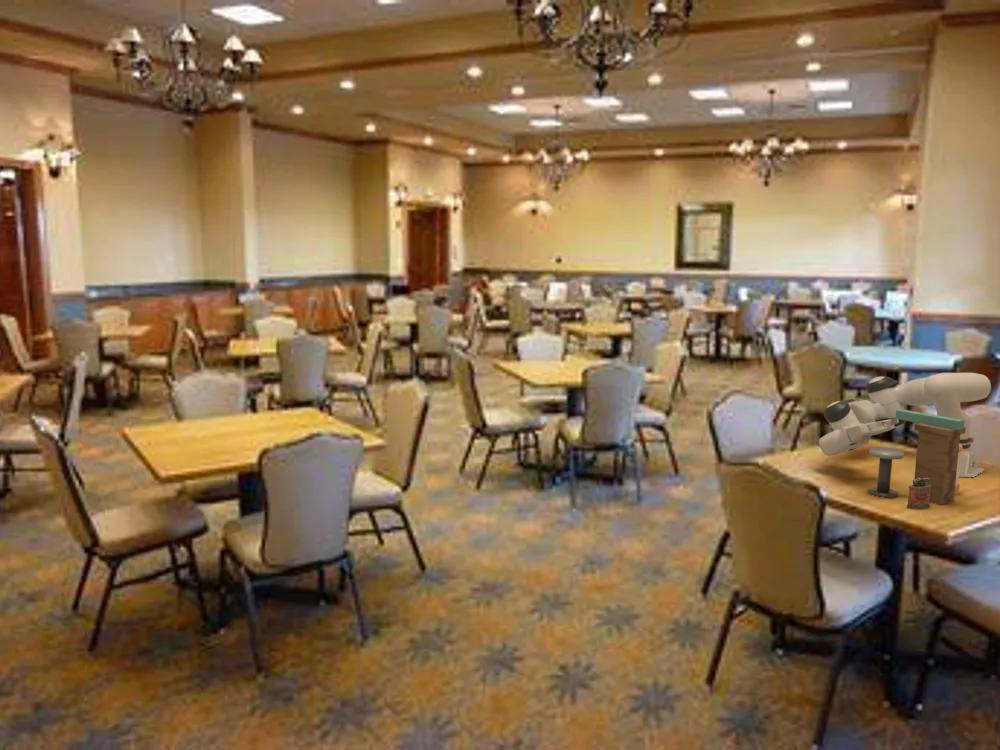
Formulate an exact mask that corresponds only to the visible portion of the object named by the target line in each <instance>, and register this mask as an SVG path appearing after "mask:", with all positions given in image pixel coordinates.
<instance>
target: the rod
mask: <svg viewBox="0 0 1000 750" xmlns="http://www.w3.org/2000/svg"><path fill="white" fill-rule="evenodd" d="M895 419H900V420H906V422H907V421H908V422H912V423H916V424H919V423H922V424H927V425H933V426H938V427H944V428H949V429H954V430H962V429H964V420H960V419H954V418H949V417H943V416H937V415H935V414H929V413H925V412H919V411H914V410H913V411H912V410H908V409H905V410H903V409H900V410H896V418H895Z"/></svg>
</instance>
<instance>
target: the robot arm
mask: <svg viewBox="0 0 1000 750" xmlns="http://www.w3.org/2000/svg"><path fill="white" fill-rule="evenodd" d="M898 383H899V381H898V380H897V379H894V378H891V377H889V376H876V377H874V378H872V379H871V380H869V381H868V382H867V384H866V386H865V387H866V388H865V389H866V393H867V394H868V397H869V399H870V400H866V399H863V400H858V401H857V400H856V399H854V398H850V399H845V400H839V401H838V400H837V401H833V402H832V403H830V404H829V405H827V406H826V407H825V408H824V412H823V417H824V418H825V420H826V422H828V423H829V426H830V427H831V428H832V430H833V431H831V432H829V433H826V434H825V435H823V436H822V437H820V438H819V439H818V444H819V448H820V449H821V451H822V453H823V454H824V455H826V456H827V457H832V456H837V455H841V454H843V453H846V452H850V451H853V450H856V449H858V448H859V447H862V446H865V445H867V444H869V442H870V439H871V437H872V436H876V435H880V434H883V433H886V432H888V431H892V430H893V429H895V428H899V427H901V426H903V425H904V424H905V423H906V422H907V421H906V420H900V419H895V418H896V410H900V409H903V410H906V409H905V407H904V404H905V405H908V406H917V407H918V406H921V407H922V406H928V405H929V406H931V405H932V406H933V405H934V407H935V410H936V414H937V416H943V417H949V418H954V419H960V420H964V427H966V428H965V433H964V434H960V443H959V444H961V445H962V447H963V450H962V451H961V452H960V455H959V478H960V477H961V478H964V477H965V478H971V477H974V478H976V477H977V476H979V475H980V473H981V474H982V473H984V472H985V468H983V467H981V466H979V456H978V454H976V453H975V451H974V450H973V449H972V448H971V447H972V446H971V445H972V443H974V442H975V441H974V440H975V438H974V437H970V427H971V418H970V417H969V415H968V414H967V413H966V412H964V411H963V410H962V407H961V403H968V402H975V401H979V400H983V399H986V398H987V397H989V394H990V393H991V391H992V385H991V381H990V379H989V377H987V376H986V375H984V374H982V373H981V374H980V373H977V372H941V373H940V372H939V373H936V374H932V375H929V376H927V377H926V376H925V377H922V378H920V377H919V378H915V379H912V380H909V381H905V382H904V383H902V384H898ZM983 471H984V472H983ZM978 474H979V475H978ZM975 476H976V477H975Z"/></svg>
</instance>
